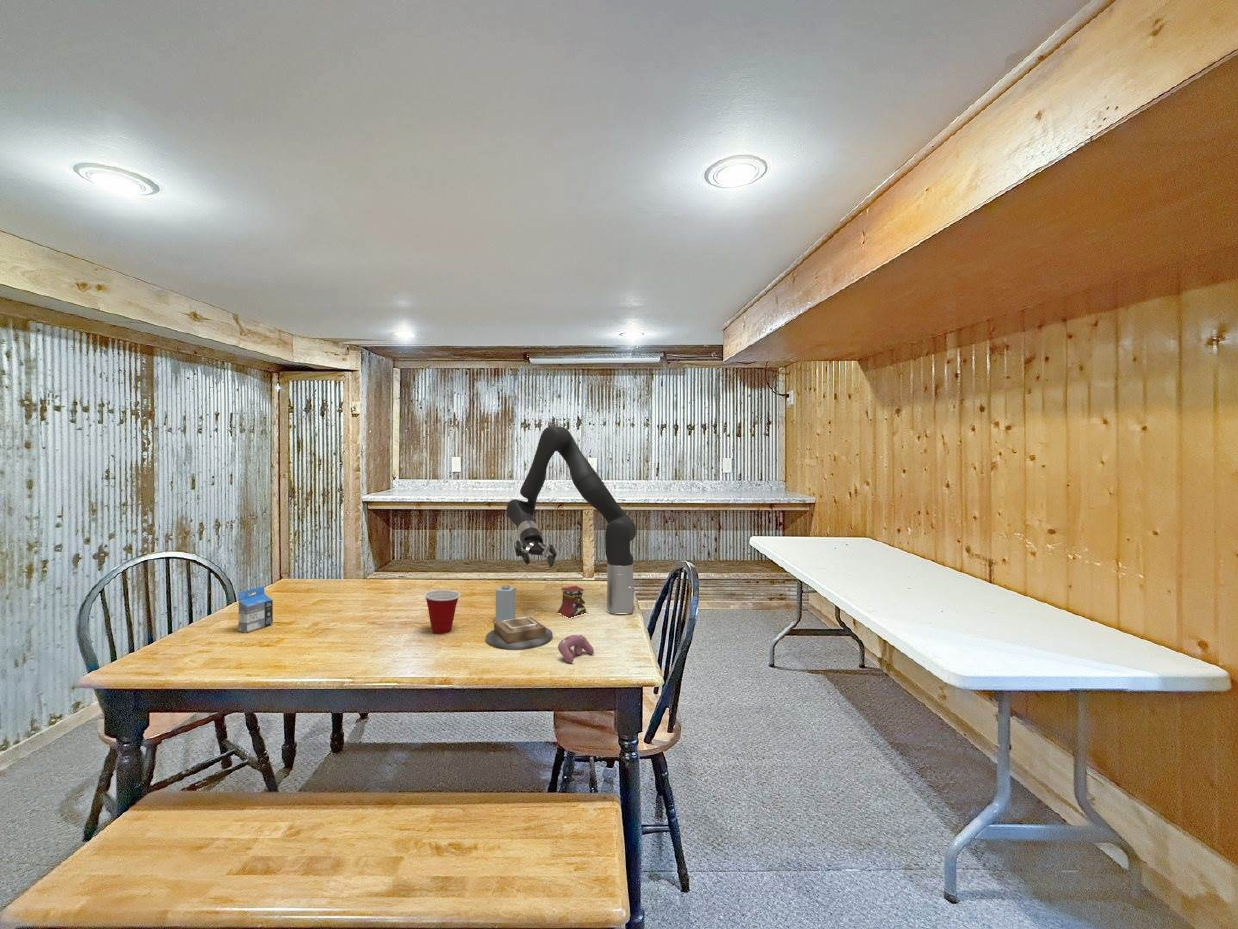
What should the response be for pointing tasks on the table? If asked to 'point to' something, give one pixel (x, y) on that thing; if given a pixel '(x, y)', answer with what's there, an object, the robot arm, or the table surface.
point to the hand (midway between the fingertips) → (540, 563)
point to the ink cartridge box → (254, 610)
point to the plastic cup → (441, 609)
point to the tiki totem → (572, 602)
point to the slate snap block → (505, 603)
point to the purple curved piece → (578, 643)
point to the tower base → (517, 645)
